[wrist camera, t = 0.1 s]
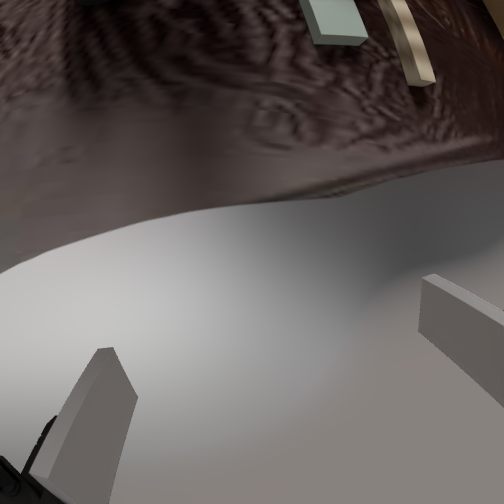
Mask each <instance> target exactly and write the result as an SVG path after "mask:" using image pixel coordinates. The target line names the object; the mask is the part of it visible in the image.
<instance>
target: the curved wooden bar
mask: <svg viewBox="0 0 504 504" xmlns="http://www.w3.org/2000/svg"><path fill="white" fill-rule="evenodd" d="M377 1H378V3H379V6H380V8H381V10H382V12H383V15H384V17H385V19H386V22H387V24H388V27H389V29H390V32H391V35H392V37H393V40H394V43H395V45H396V48H397V51H398V54H399V57H400V60H401V63H402V67H403V70H404V73H405V77H406V80H407V84H408V85H411V86H420V87H423V86H426V85H429V84H432V83H434V82H436V81H435V77H434V74H433V71H432V67H431V64H430V61H429V58H428V55H427V52H426V50H425V47H424V44H423V41H422V39H421V36H420V34H419V31H418V29H417V26H416V24H415V22H414V19H413V17H412V15H411V13H410V10H409V8H408V6H407V4H406V2H405V0H377Z"/></svg>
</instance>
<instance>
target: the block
mask: <svg viewBox="0 0 504 504" xmlns="http://www.w3.org/2000/svg"><path fill="white" fill-rule="evenodd" d="M299 2H300V5H301V7H302V10H303V13H304V16H305V19H306V21H307V24H308V27H309V30H310V33H311V36H312V40H313V43H314V44H334V45H354V46H359V45H360V44H361V43H362V42H364V41H365V40H366V39H367V38H368V35H367V32H366V30H365V27H364V24H363V22H362V19H361V17H360V14H359V12H358V10H357V7H356V5H355V3H354V0H299Z"/></svg>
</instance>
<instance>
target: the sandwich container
mask: <svg viewBox="0 0 504 504" xmlns="http://www.w3.org/2000/svg"><path fill="white" fill-rule="evenodd" d="M483 2H484V4H485V6H486V7H487V9H488V11H489V13H490V15H491V16H492V18H493V20H494V22H495V24H496V26H497V28H498V30H499V32H500V34H501V36H502V38H503V39H504V0H483Z"/></svg>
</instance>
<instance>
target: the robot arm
mask: <svg viewBox="0 0 504 504" xmlns="http://www.w3.org/2000/svg"><path fill="white" fill-rule="evenodd" d="M74 1H75V2H76V3H78V4H80V5H86V6H89V5H97V4H101V3H105V2H108V1H110V0H74ZM418 332H419V333H421V334H422V335H423V336H424V337H425V338H427V339H428V340H429V341H430V342H431V343H433V344H434V345H435V346H436V347H437V348H438V349H439V350H441V351H442V352H443V353H444V354H445V355H446V356H448V357H449V358H450V359H451V360H452V361H453V362H454V363H456V364H457V365H458V366H459V367H460V368H461V369H462V370H463V371H465V372H466V373H467V374H468V375H469V376H470V377H471V378H472V379H474V380H475V381H476V382H477V383H478V384H479V385H480V386H481V387H482V388H483V389H484V390H485V391H487V392H488V393H489V394H490V395H491V396H492V397H493V398H494V399H495V400H496V401H497V402H498V403H500V405H502V407H504V310H501V309H499V308H497V307H496V306H494V305H492V304H490V303H488V302H487V301H484V300H483V299H481V298H479V297H478V296H476V295H474V294H472V293H470V292H468V291H466V290H465V289H463V288H461V287H459V286H457V285H455V284H453V283H451V282H450V281H448V280H446V279H444V278H441V277H440V276H438V275H436V274H431V275H428V276H426V277H423V278H422V285H421V304H420V316H419V327H418ZM137 399H138V396H137V394H136V393H135V391H134V389H133V387H132V385H131V383H130V381H129V379H128V377H127V375H126V373H125V372H124V369H123V367H122V365H121V363H120V361H119V359H118V357H117V355H116V353H115V350H114V348H113V347H111V348H101V349H97V351H96V353H95V354H94V356H93V357H92V359H91V360H90V362H89V364H88V365H87V367H86V368H85V370H84V372H83V373H82V375H81V377H80V378H79V380H78V382H77V383H76V385H75V387H74V388H73V390H72V392H71V394H70V396H69V397H68V398H67V400H66V402H65V404H64V406H63V407H62V409H61V411H60V413H59V414H58V416H54V417H53V419H51V420H50V422H48V423H47V424H46V426H45V428H44V430H43V432H42V433H41V436H40V438H39V439H38V441H37V445H35V446H34V449H33V450H32V452H31V454H30V456H29V458H28V460H27V462H26V464H25V466H24V469H23V470H22V472H21V474H20V473H19V472H18V471H17V470H16V469H15V468H14V467H13V466H12V465H11V464H10V463H9V462H8V461H7V460H6V459H5V458H4V457H3V456H0V504H109V500H110V496H111V491H112V487H113V483H114V479H115V475H116V471H117V467H118V464H119V460H120V456H121V452H122V449H123V445H124V442H125V439H126V434H127V432H128V428H129V424H130V421H131V418H132V415H133V412H134V408H135V405H136V402H137Z"/></svg>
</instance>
